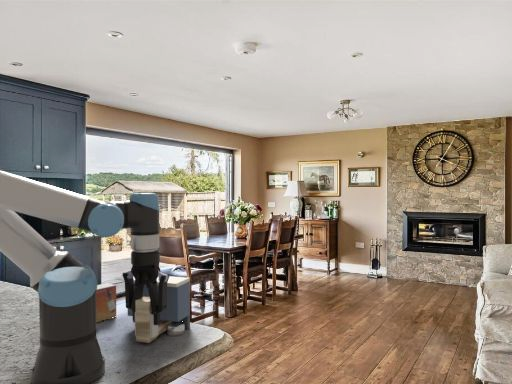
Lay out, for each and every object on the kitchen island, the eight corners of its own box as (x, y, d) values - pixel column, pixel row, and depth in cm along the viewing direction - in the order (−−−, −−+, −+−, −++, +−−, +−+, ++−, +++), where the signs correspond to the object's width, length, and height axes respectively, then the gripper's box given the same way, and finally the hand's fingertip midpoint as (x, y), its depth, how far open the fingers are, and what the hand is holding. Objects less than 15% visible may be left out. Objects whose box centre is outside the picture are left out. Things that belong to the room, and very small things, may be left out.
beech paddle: (148, 342, 110) (148, 301, 109) (136, 341, 111) (135, 300, 110) (173, 326, 122) (173, 289, 122) (161, 325, 123) (161, 288, 123)
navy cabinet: (177, 336, 116) (176, 283, 116) (126, 329, 122) (125, 279, 121) (190, 327, 123) (189, 277, 123) (141, 321, 129) (141, 273, 129)
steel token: (179, 337, 116) (178, 328, 116) (163, 334, 117) (163, 326, 117) (187, 330, 121) (187, 322, 120) (172, 328, 122) (172, 320, 122)
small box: (94, 324, 127) (93, 290, 127) (84, 320, 130) (84, 287, 130) (117, 317, 133) (116, 284, 133) (107, 314, 137) (106, 282, 136)
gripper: (180, 248, 112) (181, 333, 113) (127, 246, 118) (128, 327, 118) (165, 253, 105) (166, 344, 106) (110, 250, 111) (111, 336, 111)
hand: (146, 335), depth 112 cm, fingers closed on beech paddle, 4 cm apart
